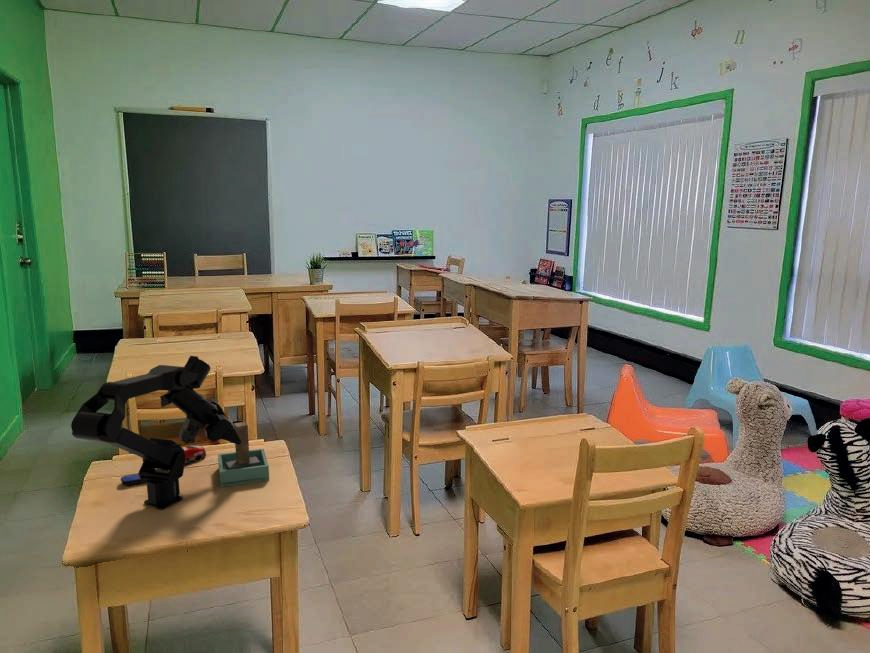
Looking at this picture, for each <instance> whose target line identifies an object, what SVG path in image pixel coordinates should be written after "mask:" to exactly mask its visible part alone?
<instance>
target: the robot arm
mask: <svg viewBox="0 0 870 653" xmlns="http://www.w3.org/2000/svg"><path fill="white" fill-rule="evenodd" d="M187 359H188V360H187V361H186V363H185V365H184V366H179V365H165V364H158V365H157V366H155V367H153V368H151V369H150V370H148V371H149V372H148V373H145V374H142V375H138V376H137V375H136V376H132V377H128V378H125V379H120V380H116V381H108V382H105V383H103V384H102V385H101V386H100V388H99V389H98V391H97V392H96V393H95V394H94V395H92V396H91V397H90V398H88V399H87V400H86V401H84V402H83V403H82V405H81V406H80V408H79V409H78V411H77V412H76V414H75V416H74V417H73V419H72V421H71V424H70V428H71V435H72V436H73V437H74V438H75V439H78V440H86V441H87V440H88V441H94V442H100V443H106V444H109V445H111V446H113V447H115V448H119V449H120V450H122V451H125V452H128V453H131V454H133V455H134V456H137V457H140V458H141V459H142V464H141V465H140V469H139V470H138V473H137V474H138V475H139V477H140V479H141V480H143V479H144V480H147V484H146V488H147V489H146V490H147V492H146V493H147V499H145V500H144V501H143V504H144V505H148V506H150V507H153V508H156V509H158V510H164V509H166V508H168V507H170V506H172V505H174V504H176V503H178V502H180V501H182V500H184V496H182V495H180V494H181V491H180V479H181V478H182V477H183V476H184V471H185V454H184V450H183V448H181V447H182V444H181V443H176V442H175V441H174V440H172V439H167V438H166V439H165V438H157V437H150V438H147V437H145V436H143V435H140V434H139V433H136V432H134V431H132V430H130V429H128V428H125V427H124V423H123V422H124V420H125V418H126V404H127V403H128V400H129V399H133V398H136V397H140V396H144V395H146V394H151V393H155V392H157V391H166V392H165V393H164V394H162V395H160V396H159V398H160V407H161V408H165V407H167V406H168V405H171V404H172V405H173V406H175V407H176V408H177V409H178V410H180V411H181V412H182V413H184V415H185V417H186V418H185V419H184V422H183V423H182V426H181V428H180V431H179V432H178V438H179V440H180V442H183V443H185V445H188V444H191V445H192V444H195V442H196V438H197V435H198V434H199V430H200V429H201V430H203V429H204V435H205V436H206V438H207V439H208V440H209V441H211V442H212V443H215V442H218V441H220V440H224V441H227V442H230V443H232V444H234V445H235V444H237V445H240V444H241V443H242V441H241V440H240V438H239V436H238V434H237V433H236V431H235V429H234V424H232V422H231V420H230V419H228V417H227V415H226V413H225V412H224V410H223V409H222V407H221V405H220V404H219V403H218V401H217V400H215V399H214V398H212V397H211V398H205V396H204V395H203V394H201V393H198V392H197V391H196V390H195V389H200V388H201V386H202V385H203V383H204V382H205V380H206V379H207V376H208V375H209V373H210V372H211V366H210V364H209V363H207V362H206V361H204V360H202V359H200V358H199V356H197V355H190V356H189V357H188V358H187ZM109 401H110V402H114V404H113V405H114V407H113V409H112V411H111V413H108V412H107V413H106V412H99V410H100V409H101V408H103V407H104V406H106V405H107V404H108V402H109Z"/></svg>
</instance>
